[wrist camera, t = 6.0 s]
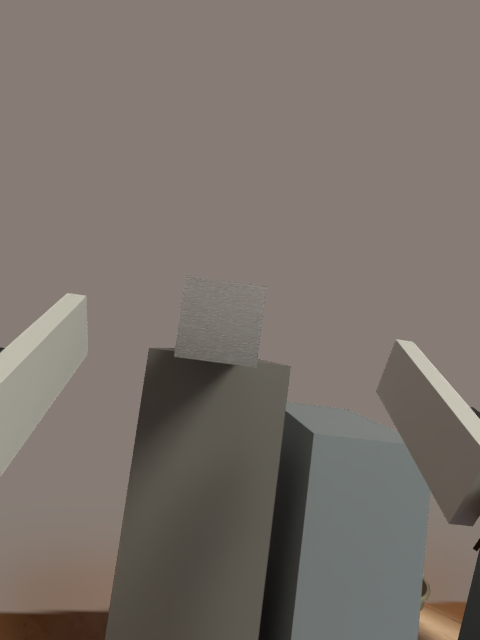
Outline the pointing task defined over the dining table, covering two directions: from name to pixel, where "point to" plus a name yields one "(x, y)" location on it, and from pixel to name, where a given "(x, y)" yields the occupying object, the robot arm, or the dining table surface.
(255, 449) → the tall stand
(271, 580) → the short stand
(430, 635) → the dining table surface
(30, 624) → the dining table surface
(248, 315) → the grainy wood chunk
